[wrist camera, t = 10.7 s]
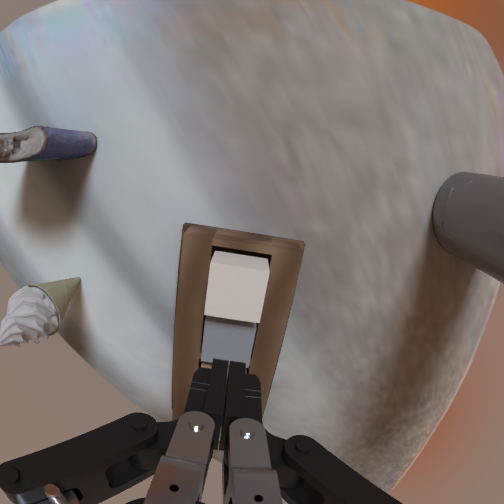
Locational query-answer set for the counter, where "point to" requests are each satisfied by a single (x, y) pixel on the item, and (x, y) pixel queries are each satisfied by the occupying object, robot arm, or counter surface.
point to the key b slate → (227, 340)
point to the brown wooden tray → (194, 298)
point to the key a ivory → (236, 286)
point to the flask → (45, 144)
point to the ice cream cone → (36, 311)
